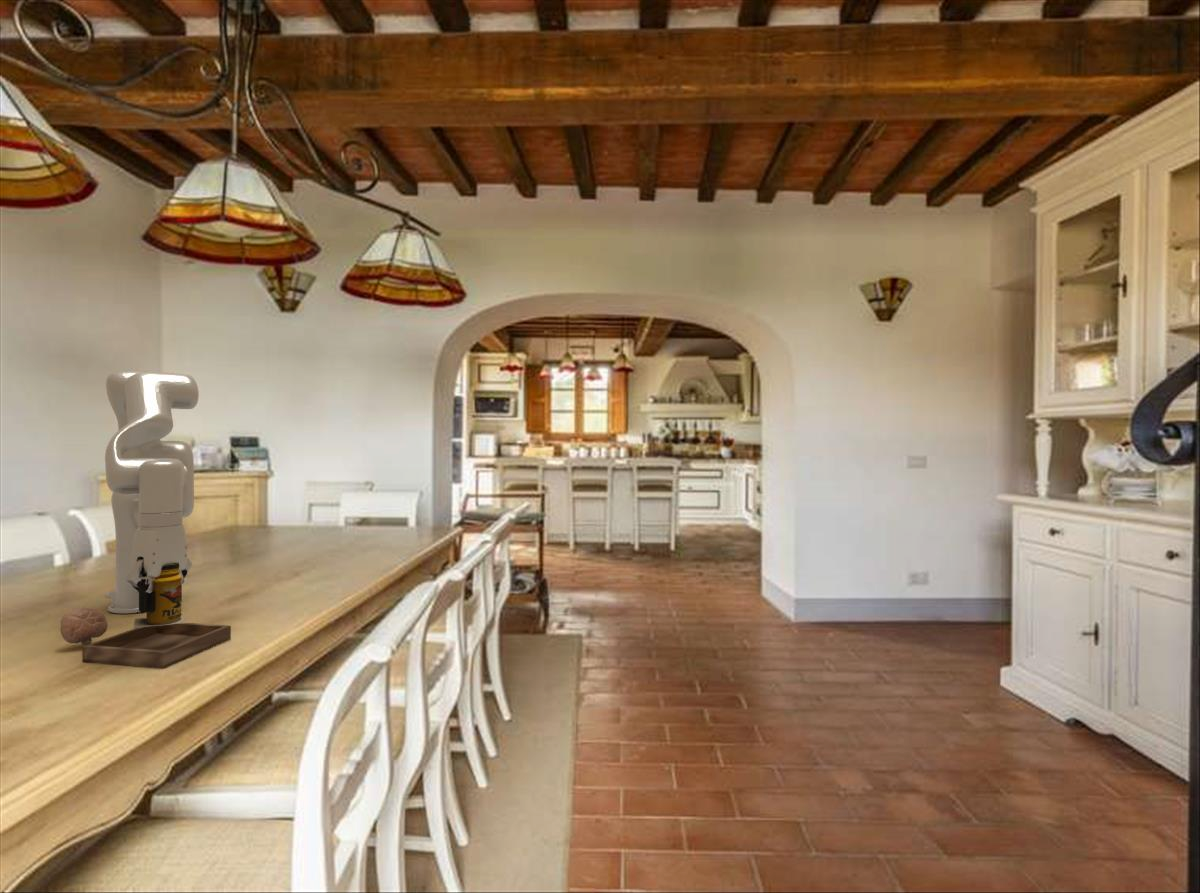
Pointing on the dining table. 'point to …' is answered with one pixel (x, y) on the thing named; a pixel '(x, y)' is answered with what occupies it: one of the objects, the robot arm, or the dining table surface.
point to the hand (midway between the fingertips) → (160, 606)
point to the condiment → (165, 599)
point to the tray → (156, 644)
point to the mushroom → (83, 625)
